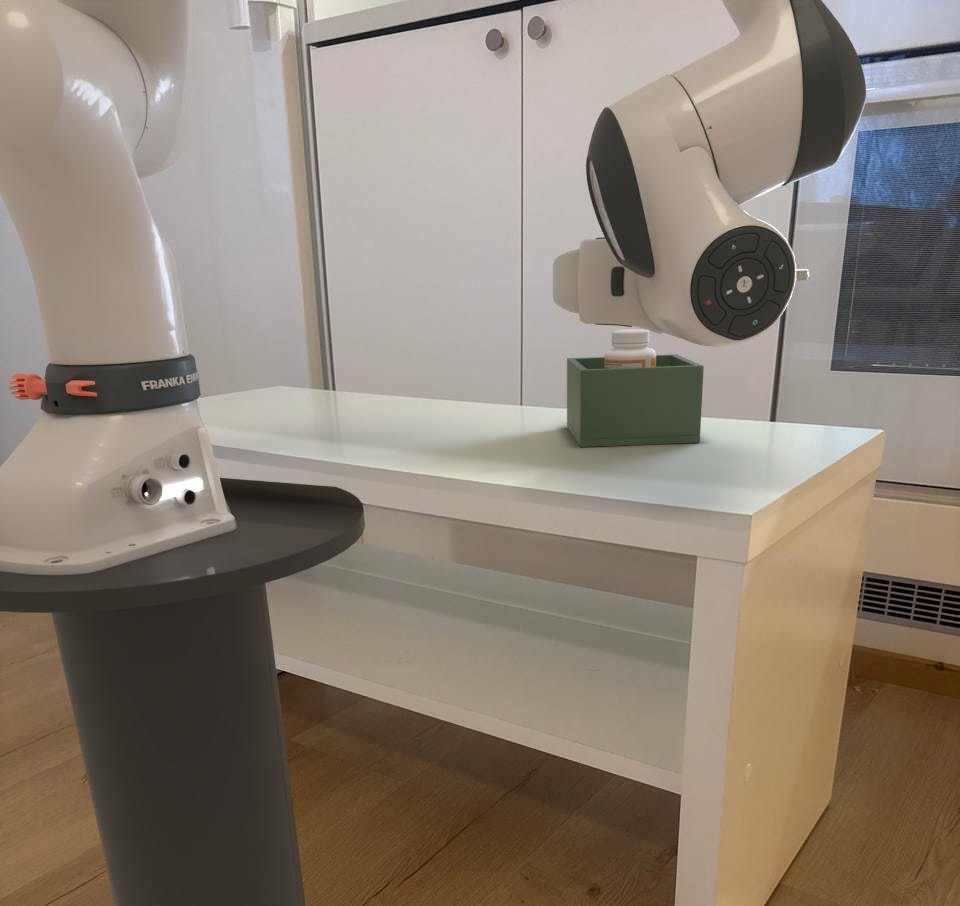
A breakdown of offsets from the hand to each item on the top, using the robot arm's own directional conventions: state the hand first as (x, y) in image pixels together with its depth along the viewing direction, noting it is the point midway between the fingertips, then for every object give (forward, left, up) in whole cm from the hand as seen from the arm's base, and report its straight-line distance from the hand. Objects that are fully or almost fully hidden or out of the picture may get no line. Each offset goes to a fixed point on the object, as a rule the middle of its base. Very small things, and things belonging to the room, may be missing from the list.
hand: (653, 276), depth 88 cm
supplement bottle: (+10, +5, -16) cm, 19 cm away
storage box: (+10, +5, -17) cm, 20 cm away
